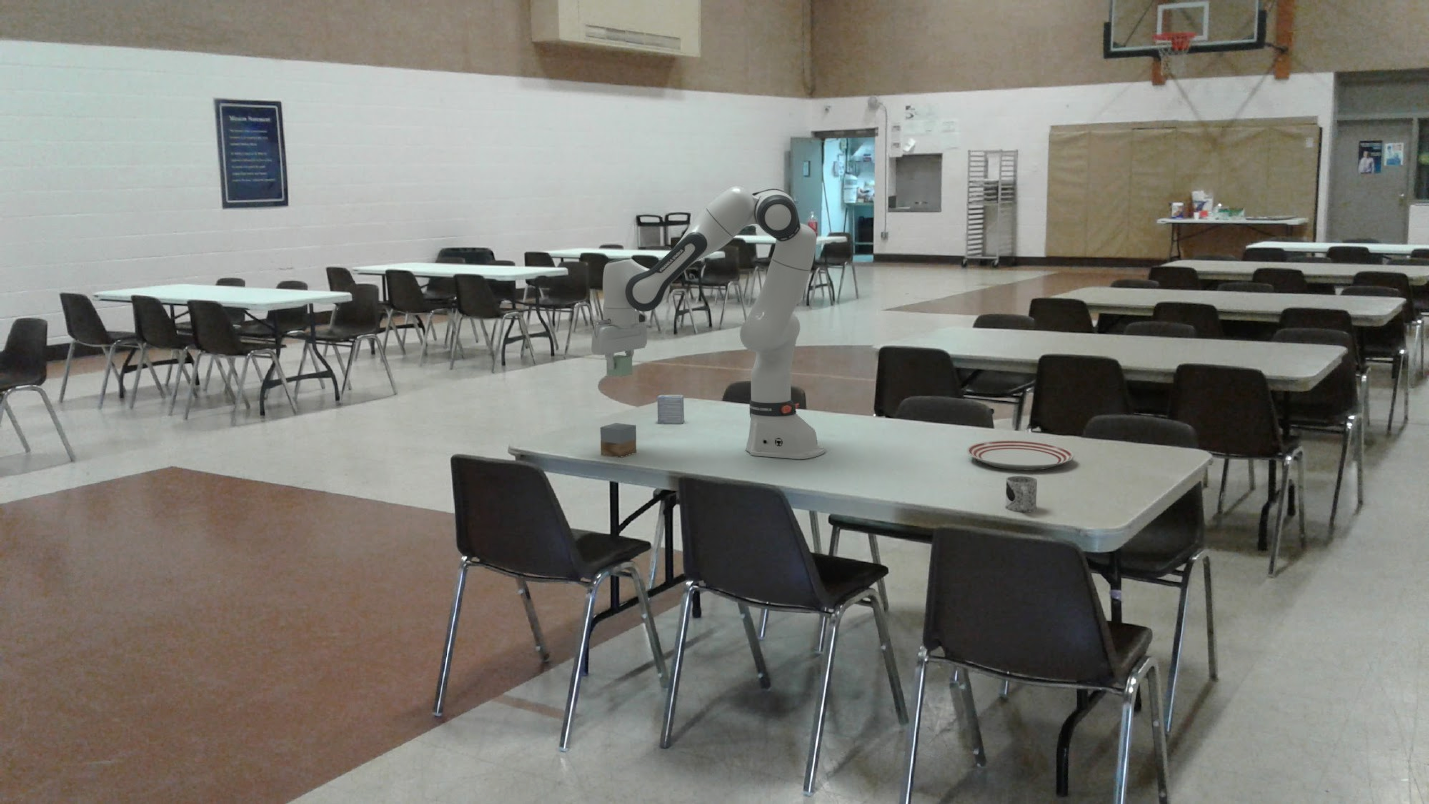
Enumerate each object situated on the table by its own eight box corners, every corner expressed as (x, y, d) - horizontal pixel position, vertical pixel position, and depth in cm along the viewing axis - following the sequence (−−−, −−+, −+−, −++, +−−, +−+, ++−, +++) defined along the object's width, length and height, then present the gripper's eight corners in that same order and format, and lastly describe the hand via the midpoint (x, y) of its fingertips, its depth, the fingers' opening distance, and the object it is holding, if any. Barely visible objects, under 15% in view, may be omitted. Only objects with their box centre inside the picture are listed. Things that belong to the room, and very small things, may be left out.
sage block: (632, 374, 321) (632, 356, 320) (620, 376, 317) (620, 358, 316) (618, 372, 324) (618, 354, 323) (606, 374, 320) (606, 356, 319)
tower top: (636, 439, 323) (635, 425, 322) (620, 443, 317) (620, 429, 316) (616, 436, 327) (615, 422, 326) (600, 441, 321) (600, 427, 320)
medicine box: (684, 421, 368) (683, 394, 367) (682, 424, 364) (682, 397, 362) (659, 421, 369) (659, 394, 367) (657, 424, 364) (657, 397, 363)
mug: (1003, 504, 265) (1004, 475, 264) (1033, 504, 264) (1034, 476, 263) (1010, 516, 255) (1011, 486, 254) (1041, 516, 254) (1042, 486, 253)
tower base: (636, 453, 324) (636, 439, 323) (620, 458, 318) (620, 443, 317) (616, 450, 327) (616, 436, 327) (600, 455, 322) (600, 441, 321)
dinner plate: (1092, 472, 295) (1093, 459, 295) (990, 477, 291) (991, 464, 290) (1045, 449, 322) (1045, 437, 322) (951, 454, 318) (951, 442, 317)
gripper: (603, 321, 307) (604, 373, 310) (650, 315, 324) (651, 364, 326) (585, 320, 311) (586, 371, 313) (633, 314, 327) (633, 362, 330)
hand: (619, 367), depth 320 cm, fingers closed on sage block, 5 cm apart
